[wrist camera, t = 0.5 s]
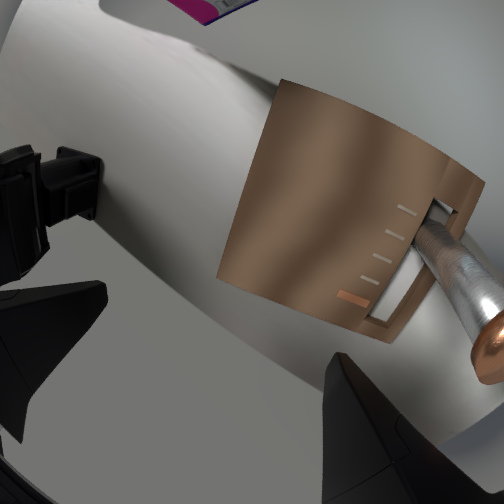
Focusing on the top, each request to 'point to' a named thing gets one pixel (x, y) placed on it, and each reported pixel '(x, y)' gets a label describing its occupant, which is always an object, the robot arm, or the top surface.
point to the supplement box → (209, 8)
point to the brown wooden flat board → (338, 210)
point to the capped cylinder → (467, 296)
